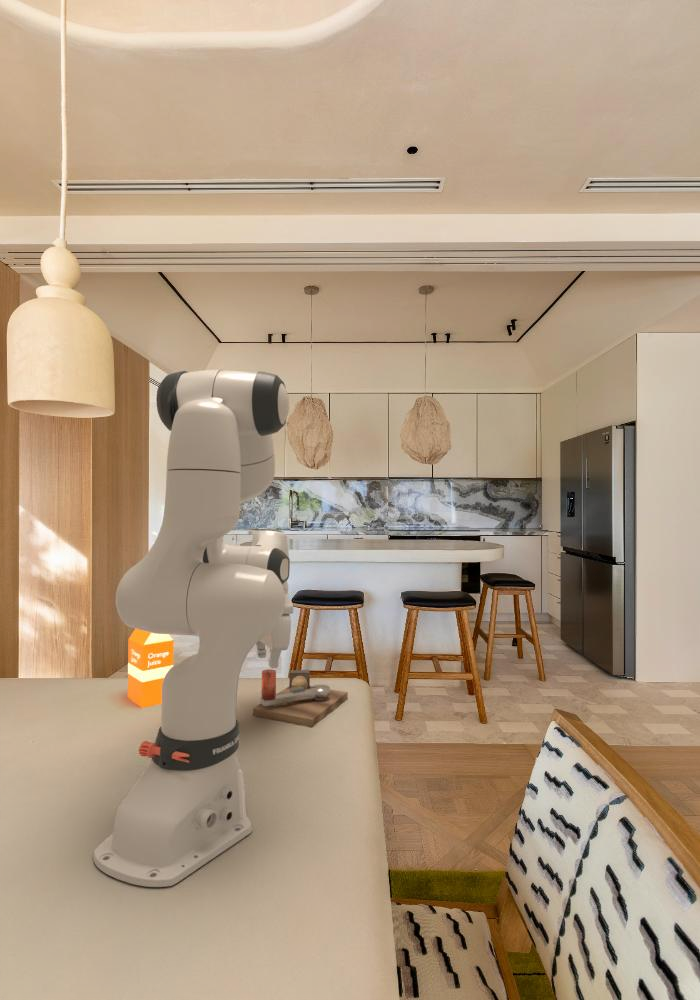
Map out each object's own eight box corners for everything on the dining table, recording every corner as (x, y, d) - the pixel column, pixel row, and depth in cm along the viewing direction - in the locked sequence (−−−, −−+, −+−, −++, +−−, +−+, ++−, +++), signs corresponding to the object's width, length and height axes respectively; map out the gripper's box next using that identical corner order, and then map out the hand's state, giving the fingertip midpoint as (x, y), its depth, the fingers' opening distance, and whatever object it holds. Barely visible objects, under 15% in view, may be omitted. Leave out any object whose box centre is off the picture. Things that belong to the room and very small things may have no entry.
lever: (265, 709, 124) (265, 675, 124) (257, 701, 129) (257, 668, 129) (332, 697, 132) (333, 665, 132) (322, 690, 137) (323, 659, 137)
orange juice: (141, 708, 129) (142, 622, 129) (127, 697, 136) (128, 615, 136) (173, 700, 135) (174, 617, 135) (158, 690, 141) (159, 611, 141)
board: (312, 727, 120) (312, 701, 120) (252, 715, 126) (253, 690, 126) (347, 698, 138) (347, 675, 138) (294, 689, 144) (294, 667, 144)
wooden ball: (302, 696, 135) (303, 679, 135) (288, 693, 137) (288, 677, 137) (310, 690, 139) (310, 674, 139) (296, 688, 140) (296, 672, 140)
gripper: (243, 595, 135) (242, 652, 135) (267, 608, 117) (266, 675, 116) (269, 594, 138) (267, 650, 137) (296, 606, 119) (294, 672, 119)
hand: (267, 662), depth 127 cm, fingers open, 8 cm apart
